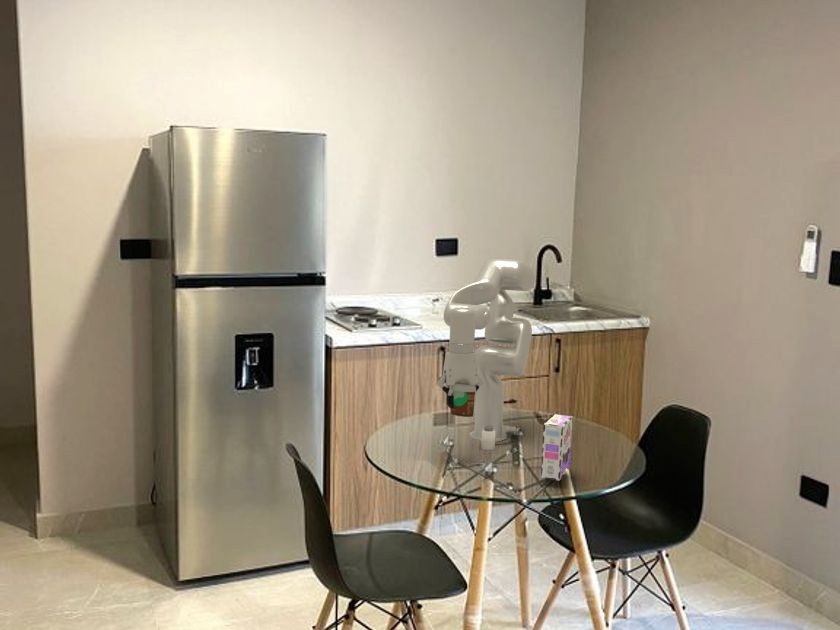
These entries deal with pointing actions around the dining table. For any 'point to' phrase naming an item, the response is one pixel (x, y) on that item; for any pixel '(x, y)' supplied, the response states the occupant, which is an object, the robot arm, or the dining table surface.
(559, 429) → the candy box
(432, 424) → the dining table surface
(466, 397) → the food container
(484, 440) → the salt cellar
